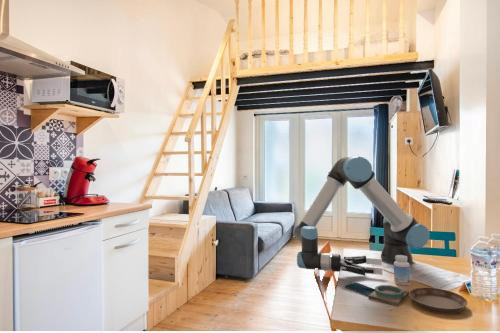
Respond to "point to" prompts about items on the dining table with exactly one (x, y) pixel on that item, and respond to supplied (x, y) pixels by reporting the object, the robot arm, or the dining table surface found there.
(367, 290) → the smartphone
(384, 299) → the holder board
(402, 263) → the pill bottle
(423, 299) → the plant saucer
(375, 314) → the dining table surface
